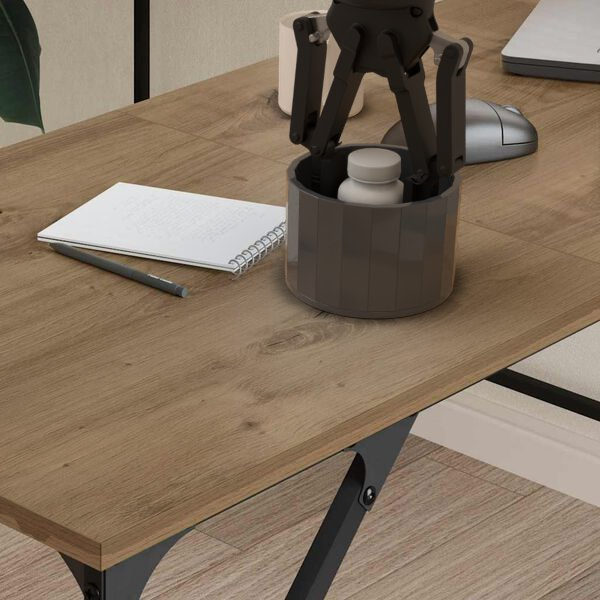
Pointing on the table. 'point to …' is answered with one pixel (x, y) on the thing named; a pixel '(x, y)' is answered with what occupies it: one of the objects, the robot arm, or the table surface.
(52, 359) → the table surface
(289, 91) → the mug
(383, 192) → the pill bottle
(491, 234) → the table surface
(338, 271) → the canister
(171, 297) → the table surface
